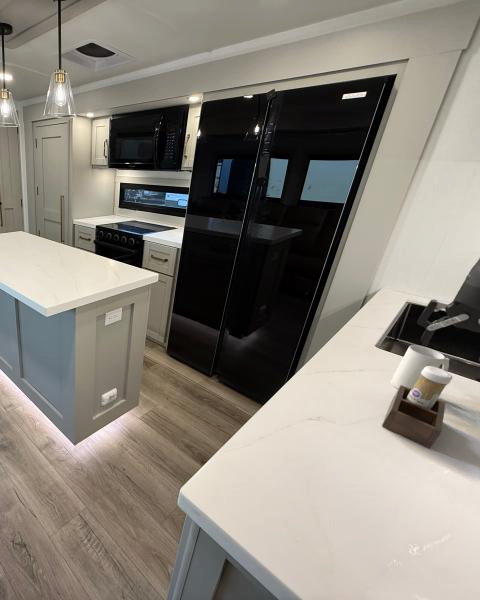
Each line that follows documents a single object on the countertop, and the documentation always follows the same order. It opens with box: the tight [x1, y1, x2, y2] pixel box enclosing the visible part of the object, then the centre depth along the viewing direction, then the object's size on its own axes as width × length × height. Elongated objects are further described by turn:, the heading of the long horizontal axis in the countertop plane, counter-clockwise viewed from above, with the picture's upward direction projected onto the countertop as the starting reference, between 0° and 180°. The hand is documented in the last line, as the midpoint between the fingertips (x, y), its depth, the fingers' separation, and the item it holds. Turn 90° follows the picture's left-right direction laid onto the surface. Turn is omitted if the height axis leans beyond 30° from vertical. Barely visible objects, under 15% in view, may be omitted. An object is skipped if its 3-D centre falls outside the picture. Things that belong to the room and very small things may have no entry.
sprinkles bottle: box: [405, 366, 453, 410], centre depth 74 cm, size 5×5×13 cm
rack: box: [381, 385, 446, 449], centre depth 74 cm, size 8×15×5 cm, turn 130°
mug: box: [390, 344, 451, 390], centre depth 84 cm, size 10×7×12 cm, turn 78°
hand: (451, 352), depth 69 cm, fingers open, 8 cm apart
